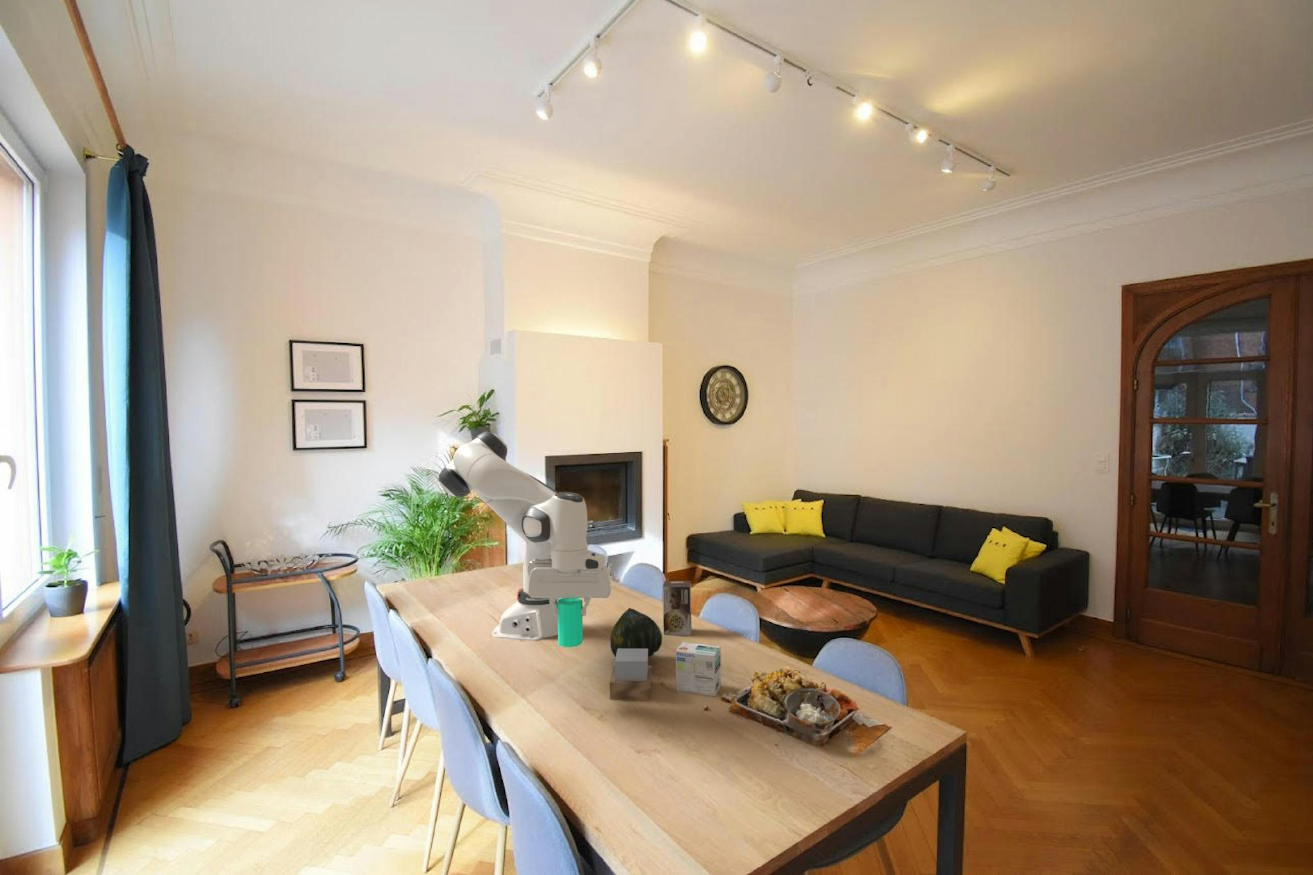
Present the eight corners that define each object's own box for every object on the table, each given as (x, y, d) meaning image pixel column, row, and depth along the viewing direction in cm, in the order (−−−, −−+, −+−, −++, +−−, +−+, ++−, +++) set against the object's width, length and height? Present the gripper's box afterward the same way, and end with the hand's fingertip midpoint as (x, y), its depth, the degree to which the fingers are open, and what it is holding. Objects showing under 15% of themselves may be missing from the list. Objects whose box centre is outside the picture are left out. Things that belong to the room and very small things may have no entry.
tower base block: (609, 702, 145) (609, 682, 144) (614, 683, 155) (613, 665, 154) (650, 702, 144) (650, 682, 144) (651, 684, 154) (651, 665, 154)
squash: (600, 665, 166) (599, 612, 165) (637, 649, 177) (636, 600, 176) (635, 680, 156) (635, 624, 156) (672, 662, 167) (672, 610, 166)
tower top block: (614, 680, 145) (614, 661, 145) (617, 667, 153) (617, 648, 153) (646, 681, 145) (646, 661, 145) (648, 667, 153) (648, 648, 153)
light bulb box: (721, 686, 152) (721, 645, 152) (715, 697, 146) (715, 655, 146) (682, 680, 156) (682, 640, 155) (675, 691, 149) (674, 650, 149)
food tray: (892, 730, 132) (892, 683, 131) (833, 778, 114) (833, 725, 114) (764, 680, 157) (764, 641, 157) (700, 713, 139) (700, 669, 139)
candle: (558, 638, 146) (558, 591, 146) (582, 637, 147) (582, 590, 146) (557, 648, 140) (557, 598, 140) (582, 646, 141) (582, 597, 140)
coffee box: (691, 628, 194) (691, 580, 193) (690, 636, 187) (690, 586, 187) (664, 628, 195) (664, 580, 194) (662, 635, 188) (662, 585, 188)
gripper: (524, 562, 140) (525, 619, 140) (609, 562, 139) (609, 619, 140) (530, 556, 146) (531, 610, 146) (611, 556, 146) (612, 610, 146)
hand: (570, 614), depth 143 cm, fingers closed on candle, 5 cm apart
